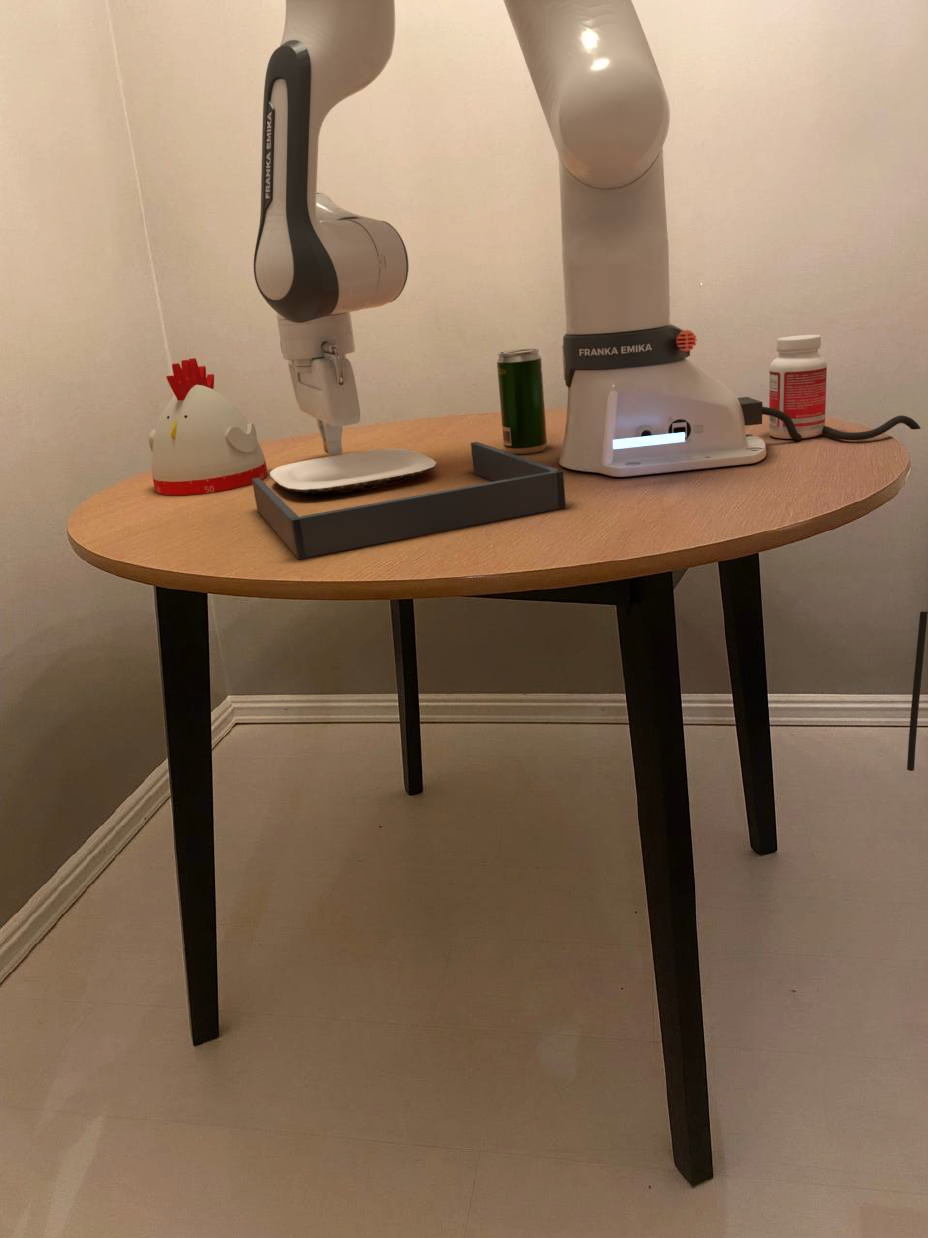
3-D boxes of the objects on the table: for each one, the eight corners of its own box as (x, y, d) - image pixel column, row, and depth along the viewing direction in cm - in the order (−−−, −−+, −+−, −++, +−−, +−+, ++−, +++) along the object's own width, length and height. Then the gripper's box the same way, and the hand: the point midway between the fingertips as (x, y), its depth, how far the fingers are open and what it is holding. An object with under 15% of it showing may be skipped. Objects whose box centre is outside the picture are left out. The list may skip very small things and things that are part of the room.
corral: (257, 511, 100) (251, 478, 99) (479, 472, 107) (477, 441, 106) (298, 559, 80) (291, 519, 79) (565, 507, 88) (563, 470, 87)
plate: (263, 480, 115) (260, 466, 115) (402, 456, 121) (400, 443, 121) (293, 507, 99) (291, 492, 99) (452, 479, 105) (450, 464, 105)
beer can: (521, 456, 114) (513, 354, 110) (495, 451, 118) (487, 353, 114) (556, 448, 116) (549, 348, 112) (529, 444, 121) (522, 348, 117)
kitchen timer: (131, 495, 114) (103, 369, 109) (198, 470, 126) (175, 356, 121) (227, 494, 110) (203, 362, 104) (287, 468, 121) (268, 349, 116)
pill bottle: (835, 432, 109) (839, 333, 105) (803, 441, 106) (805, 340, 102) (790, 428, 114) (792, 333, 110) (757, 437, 110) (758, 340, 107)
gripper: (364, 340, 106) (379, 462, 111) (324, 335, 124) (339, 439, 129) (309, 347, 104) (327, 470, 109) (277, 341, 122) (294, 446, 127)
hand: (333, 453), depth 119 cm, fingers closed
